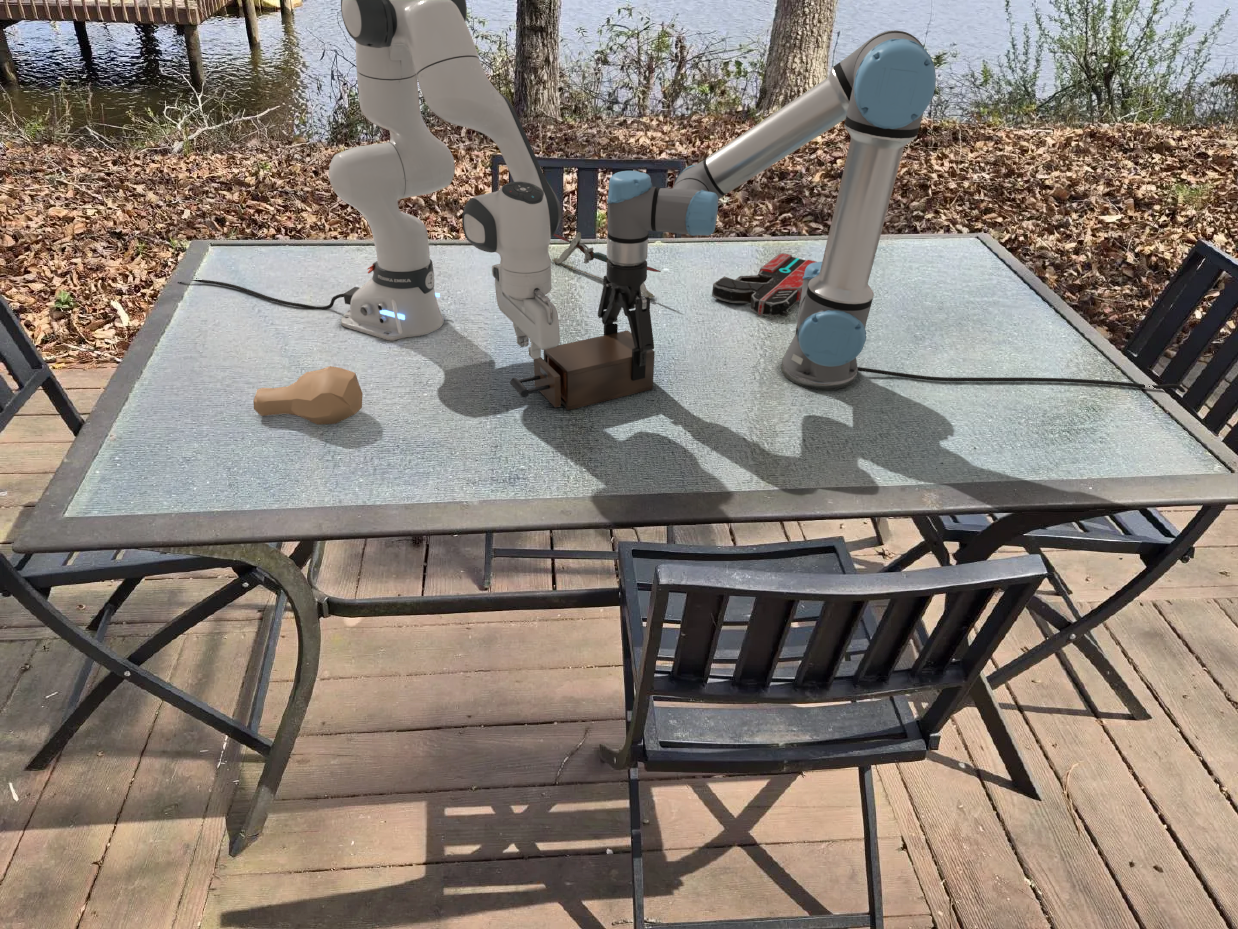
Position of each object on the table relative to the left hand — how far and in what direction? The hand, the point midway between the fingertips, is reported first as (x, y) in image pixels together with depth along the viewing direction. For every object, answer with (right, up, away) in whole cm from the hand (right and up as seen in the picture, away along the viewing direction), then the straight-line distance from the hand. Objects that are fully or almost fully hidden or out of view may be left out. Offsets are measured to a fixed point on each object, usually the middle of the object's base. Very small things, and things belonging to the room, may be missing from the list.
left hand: (528, 351), depth 161 cm
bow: (+12, +25, +59) cm, 65 cm away
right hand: (+18, -1, +13) cm, 22 cm away
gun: (+54, +22, +55) cm, 80 cm away
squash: (-40, -12, 0) cm, 42 cm away
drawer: (+7, -6, +9) cm, 13 cm away
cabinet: (+13, -6, +12) cm, 18 cm away
